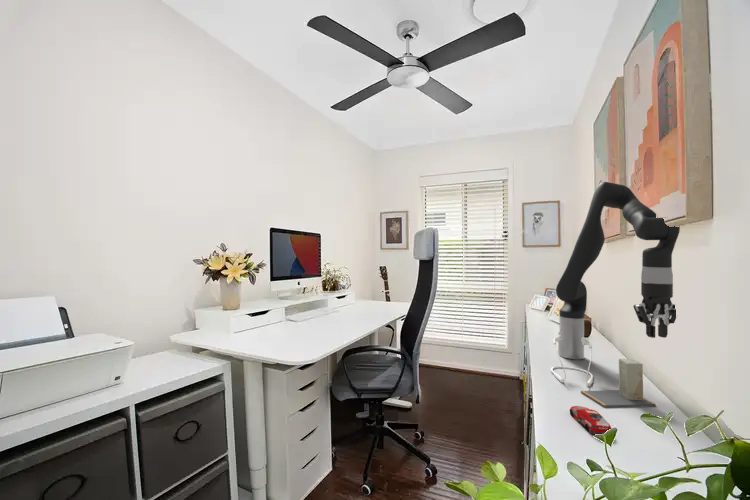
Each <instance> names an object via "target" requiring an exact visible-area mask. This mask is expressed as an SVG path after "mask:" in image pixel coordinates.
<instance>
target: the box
mask: <svg viewBox="0 0 750 500" xmlns="http://www.w3.org/2000/svg"><path fill="white" fill-rule="evenodd" d="M643 370H644V369H643V363H641V362H639V361H637V360H635V359H633V358H630V359H629V358H619V359H618V372H619V373H618V378H619V379H618V384H619V385H618V387H619V388H618V390H619V393H620V394H621V395H622V396H624V397H625V398H627V399H628V400H643V397H644V378H643V377H644V376H643V375H644V373H643Z"/></svg>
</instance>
